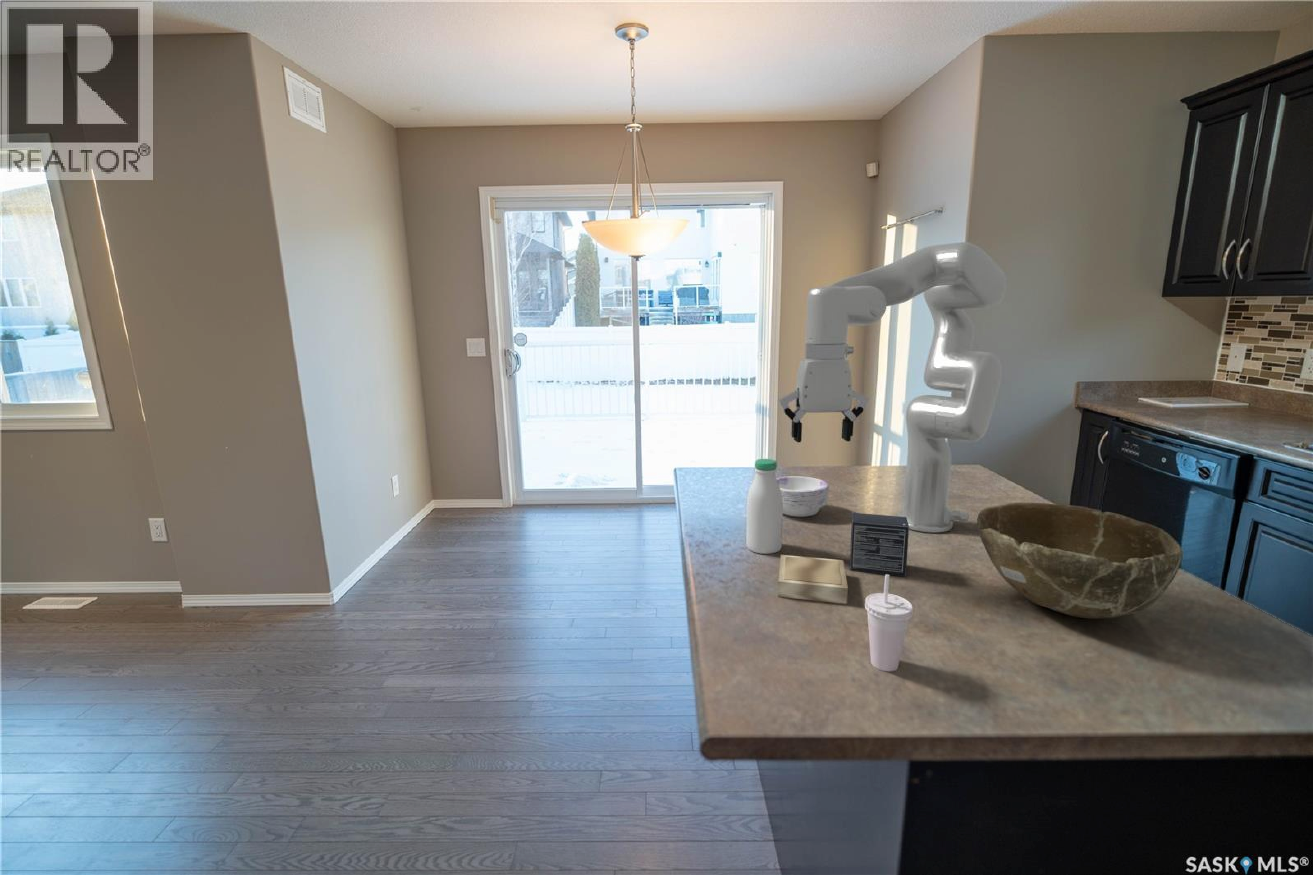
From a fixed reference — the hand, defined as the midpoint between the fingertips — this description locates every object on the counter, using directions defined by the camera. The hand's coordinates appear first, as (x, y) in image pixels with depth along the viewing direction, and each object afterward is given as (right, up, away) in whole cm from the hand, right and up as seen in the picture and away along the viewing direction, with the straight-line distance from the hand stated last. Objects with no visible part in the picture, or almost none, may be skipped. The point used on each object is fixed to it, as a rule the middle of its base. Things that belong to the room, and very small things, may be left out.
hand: (821, 440), depth 109 cm
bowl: (+38, -29, -14) cm, 50 cm away
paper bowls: (+4, -19, +36) cm, 41 cm away
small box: (+12, -26, +3) cm, 29 cm away
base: (-3, -28, -4) cm, 28 cm away
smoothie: (+1, -33, -28) cm, 43 cm away
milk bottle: (-9, -24, +14) cm, 29 cm away
